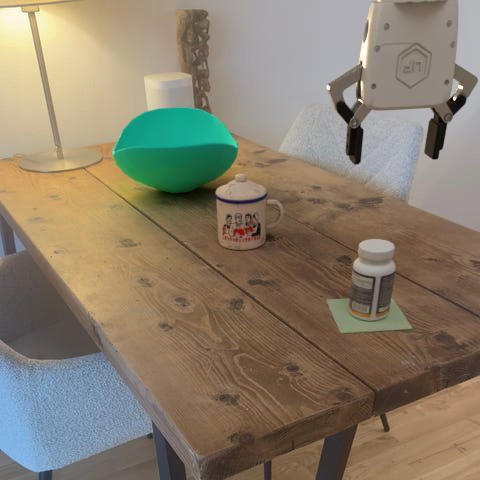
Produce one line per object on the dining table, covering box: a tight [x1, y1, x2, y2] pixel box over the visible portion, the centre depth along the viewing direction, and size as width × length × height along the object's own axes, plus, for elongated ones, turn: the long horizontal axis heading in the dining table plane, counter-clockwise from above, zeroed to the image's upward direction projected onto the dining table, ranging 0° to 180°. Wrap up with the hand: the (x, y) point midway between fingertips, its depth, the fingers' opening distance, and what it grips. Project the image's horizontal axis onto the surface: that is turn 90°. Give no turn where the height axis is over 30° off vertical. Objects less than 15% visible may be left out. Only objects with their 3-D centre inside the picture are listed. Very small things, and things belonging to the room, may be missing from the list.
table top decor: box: [111, 106, 239, 194], centre depth 125 cm, size 40×28×13 cm
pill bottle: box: [349, 238, 396, 321], centre depth 77 cm, size 6×6×10 cm
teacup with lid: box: [214, 173, 284, 251], centre depth 99 cm, size 12×9×12 cm
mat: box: [325, 295, 414, 335], centre depth 81 cm, size 10×10×1 cm
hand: (392, 159), depth 70 cm, fingers open, 9 cm apart
